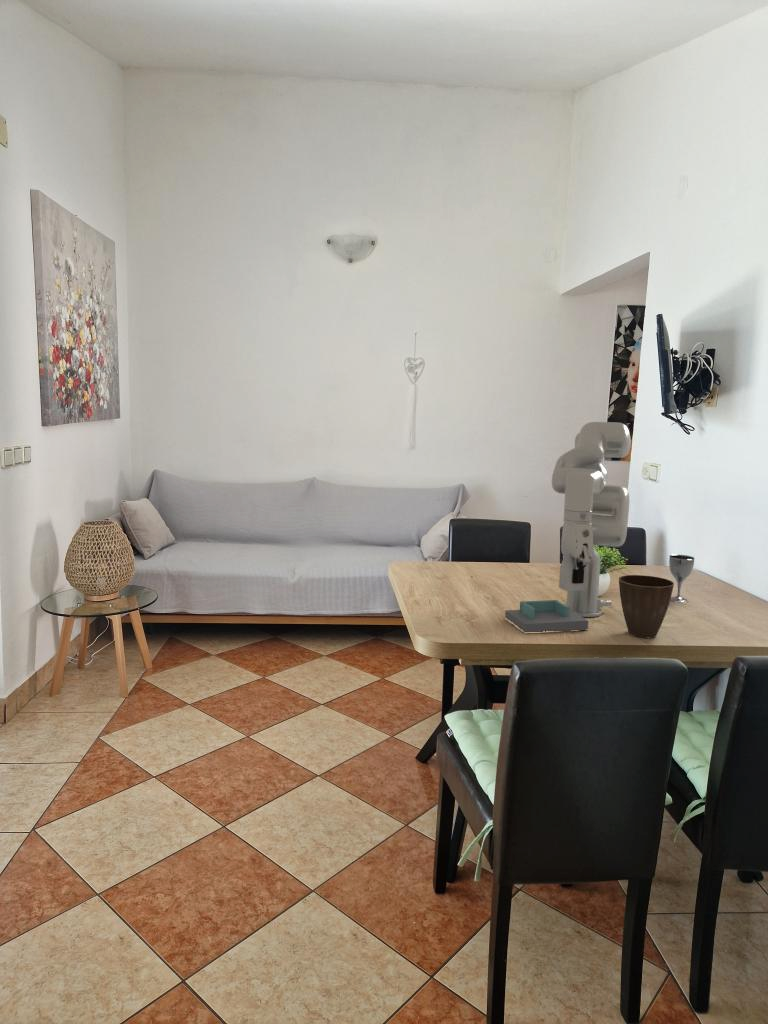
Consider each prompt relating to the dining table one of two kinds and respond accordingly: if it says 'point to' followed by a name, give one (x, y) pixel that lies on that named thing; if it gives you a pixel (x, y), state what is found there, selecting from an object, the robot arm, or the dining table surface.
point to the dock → (546, 617)
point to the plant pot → (644, 603)
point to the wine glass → (680, 571)
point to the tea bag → (567, 574)
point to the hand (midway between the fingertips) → (573, 580)
